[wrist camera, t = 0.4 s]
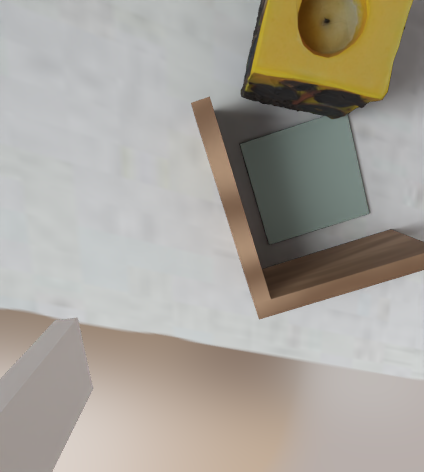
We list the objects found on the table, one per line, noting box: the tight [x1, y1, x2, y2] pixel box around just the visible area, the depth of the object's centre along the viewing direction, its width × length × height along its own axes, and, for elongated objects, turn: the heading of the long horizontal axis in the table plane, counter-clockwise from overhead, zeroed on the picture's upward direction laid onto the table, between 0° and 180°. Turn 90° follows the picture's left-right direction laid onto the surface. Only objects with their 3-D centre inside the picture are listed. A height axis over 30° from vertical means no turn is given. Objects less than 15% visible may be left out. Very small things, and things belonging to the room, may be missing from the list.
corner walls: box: [191, 97, 424, 319], centre depth 32 cm, size 19×16×8 cm
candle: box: [241, 0, 413, 119], centre depth 28 cm, size 10×10×10 cm
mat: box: [240, 114, 369, 245], centre depth 36 cm, size 11×11×1 cm
